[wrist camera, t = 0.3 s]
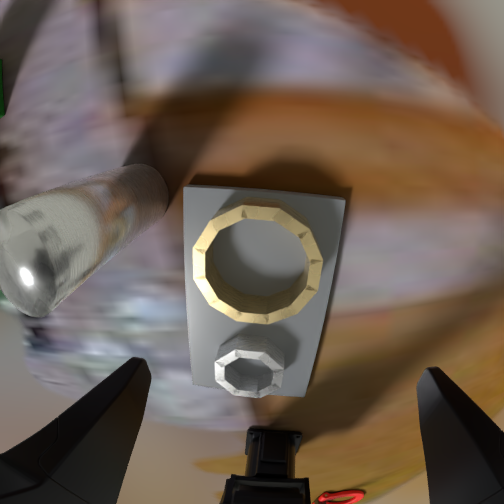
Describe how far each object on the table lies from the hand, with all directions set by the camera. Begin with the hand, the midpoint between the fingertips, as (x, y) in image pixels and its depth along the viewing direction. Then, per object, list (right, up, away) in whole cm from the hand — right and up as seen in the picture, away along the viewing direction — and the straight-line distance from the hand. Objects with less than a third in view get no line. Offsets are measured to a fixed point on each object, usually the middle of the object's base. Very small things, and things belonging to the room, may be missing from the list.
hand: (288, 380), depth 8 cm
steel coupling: (-10, +8, +13) cm, 18 cm away
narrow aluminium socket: (-1, -5, +18) cm, 19 cm away
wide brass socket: (0, +4, +14) cm, 15 cm away
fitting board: (-1, -1, +16) cm, 16 cm away
